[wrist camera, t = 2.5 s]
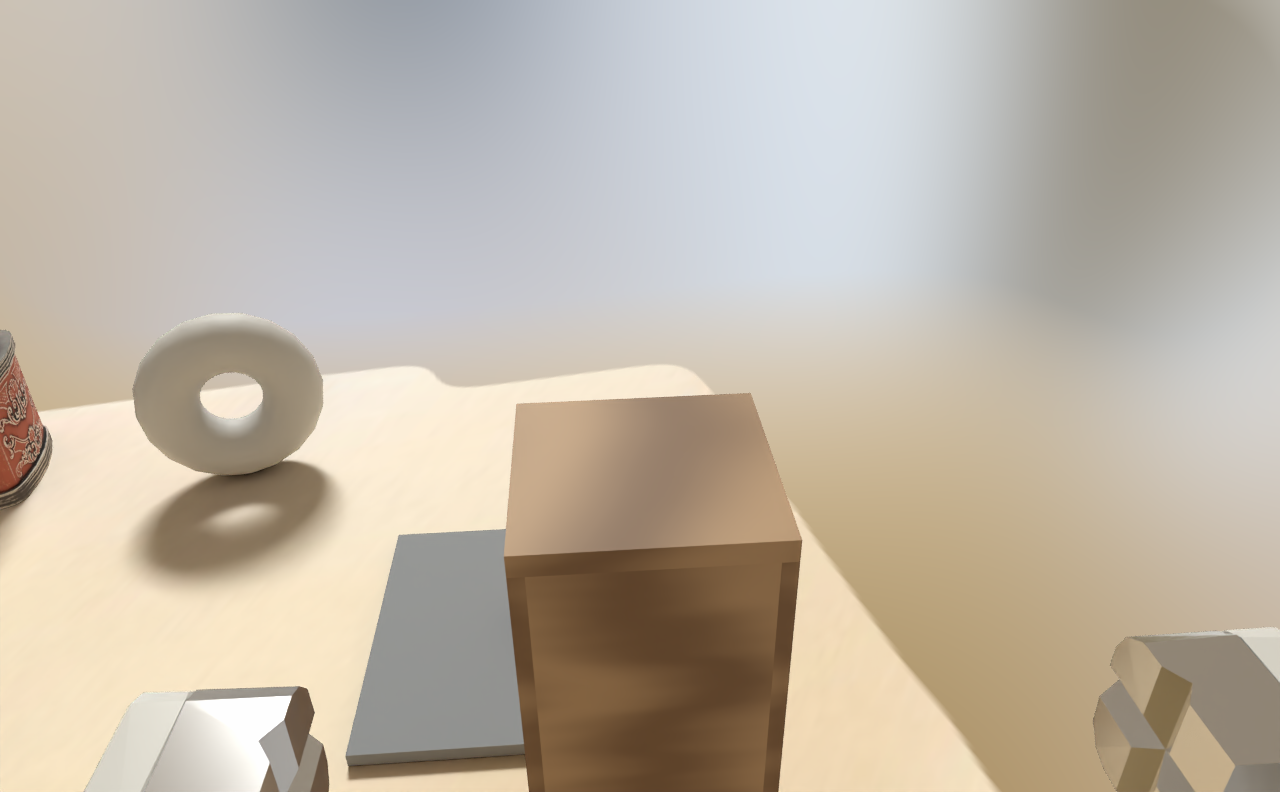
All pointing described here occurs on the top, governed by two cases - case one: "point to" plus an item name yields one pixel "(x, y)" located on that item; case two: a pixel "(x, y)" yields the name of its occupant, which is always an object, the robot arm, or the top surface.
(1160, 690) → the robot arm
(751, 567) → the block
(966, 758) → the top surface
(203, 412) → the donut
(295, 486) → the top surface
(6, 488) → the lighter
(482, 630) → the mat
